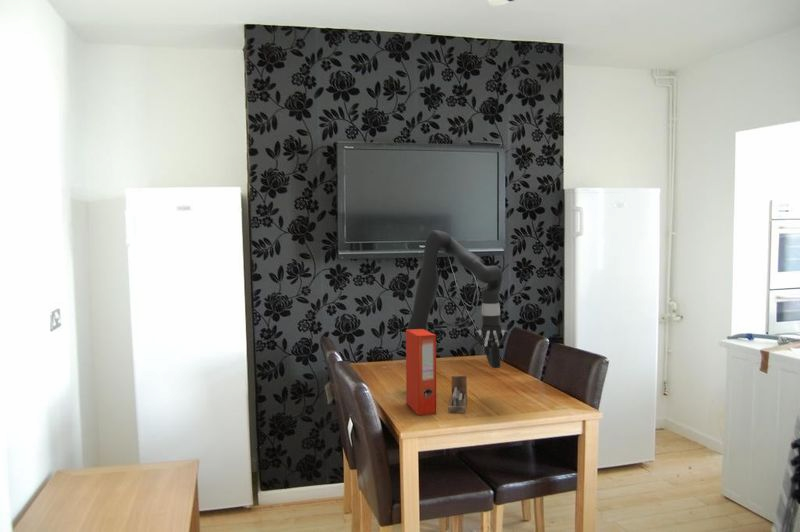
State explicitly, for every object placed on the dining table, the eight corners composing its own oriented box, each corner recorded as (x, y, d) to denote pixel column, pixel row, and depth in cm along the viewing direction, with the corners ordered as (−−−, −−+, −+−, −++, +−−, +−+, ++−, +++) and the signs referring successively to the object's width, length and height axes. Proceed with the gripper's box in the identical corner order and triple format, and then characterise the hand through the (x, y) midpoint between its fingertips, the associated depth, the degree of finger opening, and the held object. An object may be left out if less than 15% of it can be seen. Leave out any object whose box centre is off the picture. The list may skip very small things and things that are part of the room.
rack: (448, 413, 230) (448, 388, 229) (452, 398, 252) (451, 375, 251) (465, 413, 229) (464, 388, 228) (466, 398, 251) (466, 375, 250)
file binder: (424, 402, 246) (423, 328, 245) (437, 413, 229) (435, 334, 228) (406, 404, 244) (405, 329, 243) (417, 415, 227) (416, 335, 226)
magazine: (500, 349, 219) (492, 316, 247) (492, 349, 219) (484, 317, 247) (500, 388, 224) (492, 352, 253) (492, 388, 225) (484, 352, 253)
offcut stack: (453, 410, 234) (452, 396, 233) (455, 401, 247) (454, 387, 247) (461, 410, 233) (461, 396, 233) (462, 401, 247) (462, 387, 247)
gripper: (507, 312, 239) (508, 353, 240) (474, 313, 241) (475, 353, 242) (508, 314, 232) (509, 356, 232) (473, 315, 234) (474, 356, 234)
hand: (492, 354), depth 237 cm, fingers closed on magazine, 3 cm apart
